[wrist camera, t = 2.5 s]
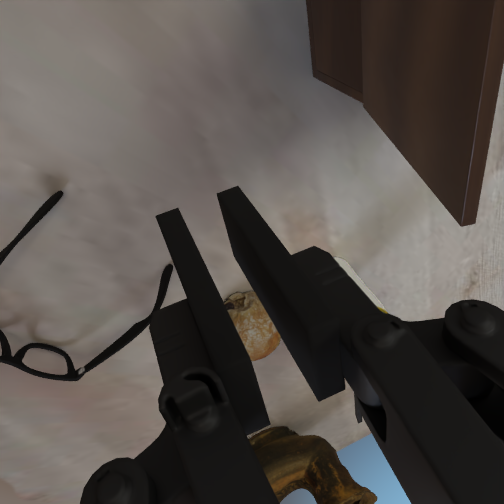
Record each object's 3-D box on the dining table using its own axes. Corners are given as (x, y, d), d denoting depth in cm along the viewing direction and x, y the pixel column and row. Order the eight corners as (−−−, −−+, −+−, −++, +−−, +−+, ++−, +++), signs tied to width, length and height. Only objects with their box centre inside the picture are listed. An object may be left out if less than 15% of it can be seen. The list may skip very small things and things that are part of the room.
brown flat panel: (535, -112, 14) (510, -107, 14) (475, 224, 23) (460, 227, 23) (370, -108, 28) (358, -104, 28) (372, 105, 36) (362, 107, 36)
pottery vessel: (315, 393, 77) (381, 505, 62) (331, 418, 84) (394, 524, 69) (192, 470, 76) (229, 602, 61) (220, 489, 83) (258, 611, 68)
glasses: (-66, 303, 44) (-78, 339, 40) (51, 181, 40) (50, 209, 36) (76, 359, 54) (77, 392, 50) (178, 266, 51) (187, 295, 47)
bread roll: (252, 267, 60) (259, 286, 52) (295, 320, 62) (308, 346, 55) (195, 310, 60) (194, 335, 53) (240, 362, 63) (245, 393, 55)
